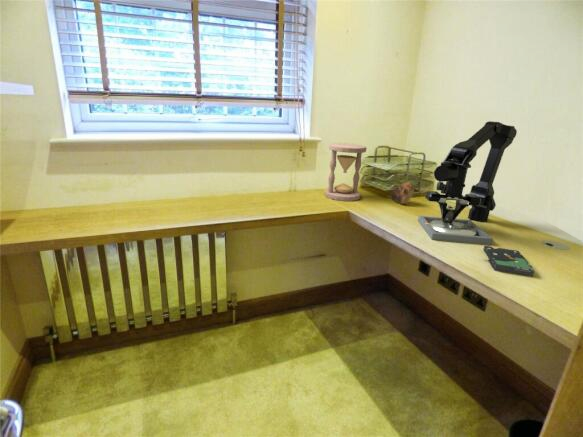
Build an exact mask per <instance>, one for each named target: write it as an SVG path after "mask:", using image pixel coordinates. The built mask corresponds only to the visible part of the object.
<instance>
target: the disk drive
mask: <svg viewBox="0 0 583 437" xmlns="http://www.w3.org/2000/svg"><path fill="white" fill-rule="evenodd" d="M483 252H484V254H486V256H487V258H488V259H487V261H488V262H489V264H490V266H491V268H492V269H493V270H494V271H495V272H501V273H506V274H512V275H519V276H524V277H532V278H533V277H534V274H535V271H534V268H533V266H532V265H531V264H530V263H529V262H528V260H527V258H525V257H524V255H523V254H522V253H521V252H520V251H519V250H516V249H509V248H503V247H497V248H494V247H493V246H491V245H484V247H483Z"/></svg>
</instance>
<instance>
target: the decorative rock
mask: <svg viewBox="0 0 583 437" xmlns="http://www.w3.org/2000/svg"><path fill="white" fill-rule="evenodd" d="M414 191H415V187H414V186H413V185H412V184H411V183H410V182H409V181H407V180H406V181H404V182H402V183H401V184H399V185H397V186H396V187H395V188H394V189H392V192H391V200H393V201H394V202H395V203H397V204H399V205H403V204H405V205H406V204H409V202H410V200H411V198H412V196H413V195H414Z"/></svg>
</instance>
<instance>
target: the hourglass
mask: <svg viewBox="0 0 583 437" xmlns="http://www.w3.org/2000/svg"><path fill="white" fill-rule="evenodd" d="M328 150H330V151H331V158H330V162H329V163H330V164H329V168H330V173H329V175H328V187H327V188H326V189H325V190H324V196H325V197H326V198H328V199H331V200H334V201H340V202H355V201H358V200H360V199H361V192H359V191H358V187H359V186H358V185H359V183H360V182H359V181H360V169H361V166H362V154H363V153H366V152H367V146H366V145H362V144H356V143H355V144H354V143H348V142H347V143H346V142H345V143H343V142H342V143H341V142H340V143H339V142H333V143H329V146H328ZM337 152H339V153H348V154H356V156H354V155H347V154H345V155H344V154H338V155H337ZM337 161H338V162H339V164H340V166H341V168H342V170H343V171H342V172H343V173H344V174H347V173H348V170H349V169H350V167H351V166H352V165H353V163H354V169H355V172H354V175H353V178H352V182H353V184H352V186H350V185H348V184H346V183H343V182H342V183H340V184H336V185H335V184H334V183H335V179H336V175H335V169H336V167H337Z"/></svg>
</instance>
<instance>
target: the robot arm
mask: <svg viewBox="0 0 583 437" xmlns="http://www.w3.org/2000/svg"><path fill="white" fill-rule="evenodd" d="M517 132H518V130H517V129H516V126H514V125H507V124H504V123H502V122H501V121H490V120H489V121H486V122H485V123H484V125H483V126H482V127H481V128H480V129H479V130H478V131H476V132H475V133H473V135H472V136H471V137H469V138H468V139H467V140H464V141H460V142H458V143H456V144H454V145H453V146H452V147H451V149H450V151H449V152H448V154H447V155H446V157H445V158H444V160H443V161H442V162H441V163H440V165H438V166H437V167H436V168H434V171H433V175H434V179H435V180H436V181H437V183H436V191H435V190H434V191H433V190H426V193H425V195H424V196H425V199H426V200H427V201H429V202H432V203H433V202H435V203H437V204H438V205H439V209H440V215H441V218H442V219H444V217H445V213H446V208H448V203H447V201H455V207H454V210H455V214H454V218H453V220H455V219H457V217H458V216H459V215H460V214H461V212H462V211H464V209H465V208H466V207H469V206H471V208H469V212H468V215H467V220H471V221H472V222H476V223H477V222H478V223H486V222H488V219H489V216H490V212H491V211H494V210H495V208H496V206H497V204H496V202H495V198H494V196H495V189H494V186H493V184H494V181H495V178H496V176H497V172H498V171H499V170H498V169H499V168H500V167H499V166H500V164H501V161H502V158H503V155H504V153H505V150H506V149H507V148H508V147H509V146H511V145H512V143H513V142H514V139H515V138H516V136H517V135H518V134H517ZM488 141H489V144H490V148H489V152H488V155H487V157H486V160H485V163H484V166H483V170H482V173H481V176H480V178H479V181H478V182H477V183H476V184H472V186H471V189H470V192H469V193H466V194H464V195H463V190H464V188H466V178H467V173H468V171H469V170H468V169H469V168H472V166H471V164H470V163H471V162H472V161H473V160H474V159H475V157H476V156H477V154H478V153H477V151H478V150H479V149H480V148H481V147H482V146H483V145H485V144H486V143H487V142H488ZM444 182H445V183H444ZM439 191H440V192H439Z"/></svg>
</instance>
